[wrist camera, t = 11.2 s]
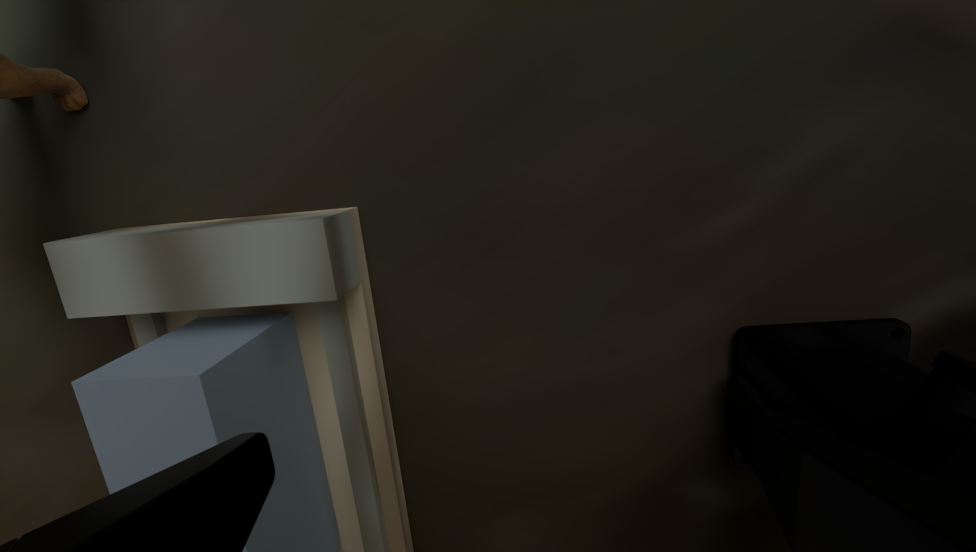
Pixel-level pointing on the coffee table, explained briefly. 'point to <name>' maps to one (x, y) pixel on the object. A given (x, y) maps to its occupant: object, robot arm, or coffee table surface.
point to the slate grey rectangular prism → (218, 417)
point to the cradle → (256, 290)
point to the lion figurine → (40, 84)
